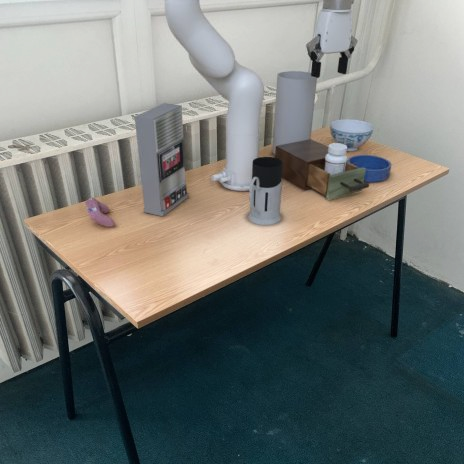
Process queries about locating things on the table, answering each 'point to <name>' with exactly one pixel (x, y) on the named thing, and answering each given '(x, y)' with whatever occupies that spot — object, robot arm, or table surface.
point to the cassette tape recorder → (161, 158)
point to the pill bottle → (336, 158)
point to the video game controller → (99, 212)
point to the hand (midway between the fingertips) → (328, 75)
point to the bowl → (372, 167)
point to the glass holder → (265, 191)
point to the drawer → (336, 180)
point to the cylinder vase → (293, 107)
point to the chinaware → (351, 132)
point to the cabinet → (299, 160)
